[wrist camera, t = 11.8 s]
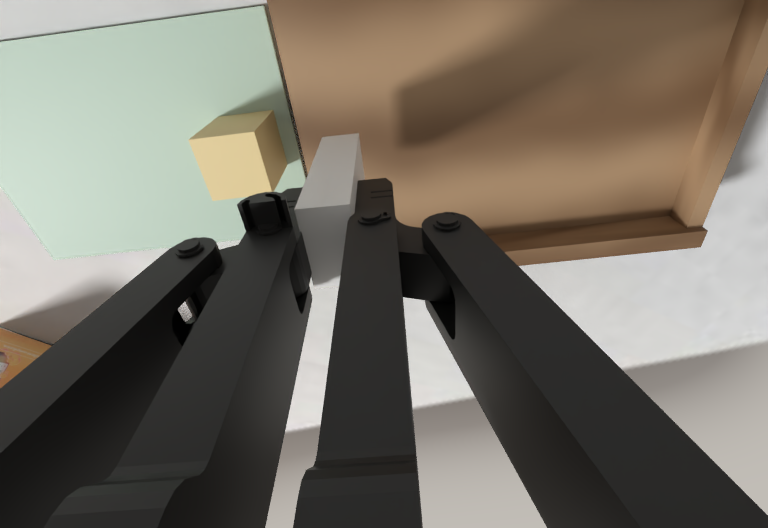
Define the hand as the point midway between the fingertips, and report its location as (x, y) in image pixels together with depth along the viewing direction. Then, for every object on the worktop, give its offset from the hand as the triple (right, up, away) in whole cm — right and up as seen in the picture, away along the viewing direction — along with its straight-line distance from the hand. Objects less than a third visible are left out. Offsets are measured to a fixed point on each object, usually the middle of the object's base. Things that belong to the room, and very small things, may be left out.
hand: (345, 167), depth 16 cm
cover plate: (-12, +2, +6) cm, 14 cm away
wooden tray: (+8, +4, +4) cm, 10 cm away
